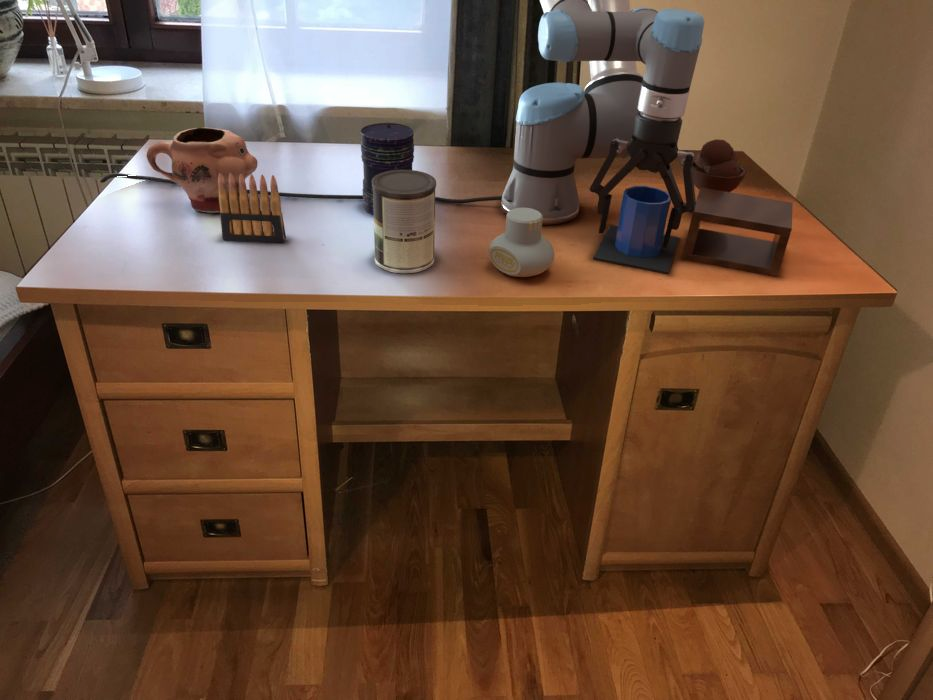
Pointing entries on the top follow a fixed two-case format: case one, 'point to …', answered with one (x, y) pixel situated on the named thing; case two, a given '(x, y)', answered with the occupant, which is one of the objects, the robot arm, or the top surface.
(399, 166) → the storage jar
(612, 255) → the mat
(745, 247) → the shelf
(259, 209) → the ammunition clip
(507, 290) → the top surface
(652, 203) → the cup
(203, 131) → the decorative planter
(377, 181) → the coffee can
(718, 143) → the ice cream bowl
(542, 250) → the air freshener
